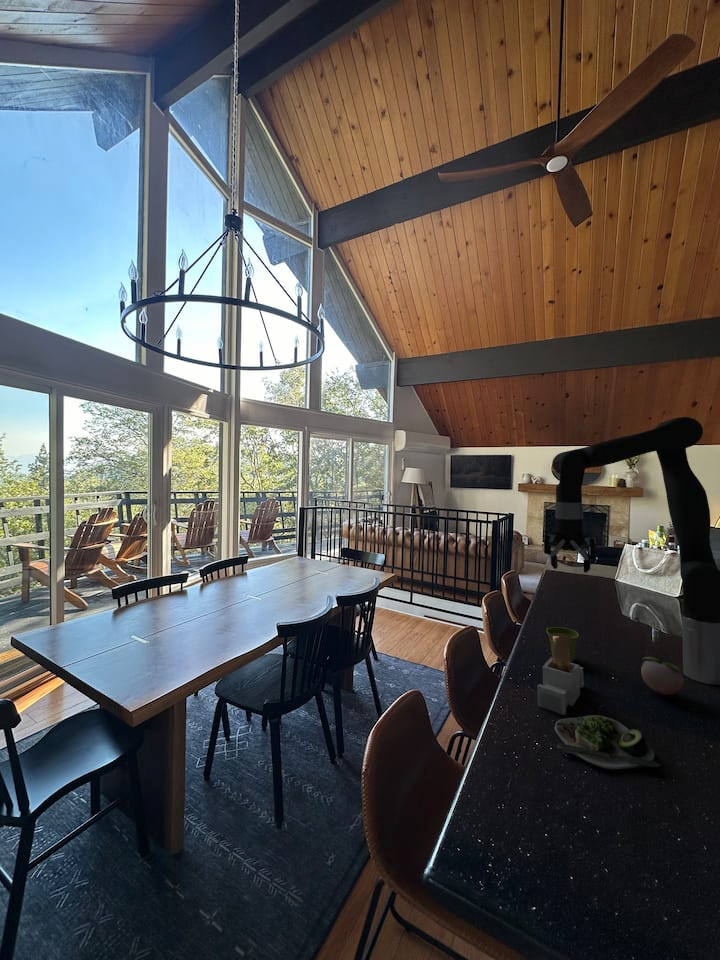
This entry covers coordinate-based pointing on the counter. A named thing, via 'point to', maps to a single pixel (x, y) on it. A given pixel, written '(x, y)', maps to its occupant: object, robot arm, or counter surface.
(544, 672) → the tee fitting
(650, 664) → the decorative fruit
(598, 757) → the salad plate
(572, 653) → the plant pot
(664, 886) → the counter surface
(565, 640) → the brown rounded rod
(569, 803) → the counter surface
